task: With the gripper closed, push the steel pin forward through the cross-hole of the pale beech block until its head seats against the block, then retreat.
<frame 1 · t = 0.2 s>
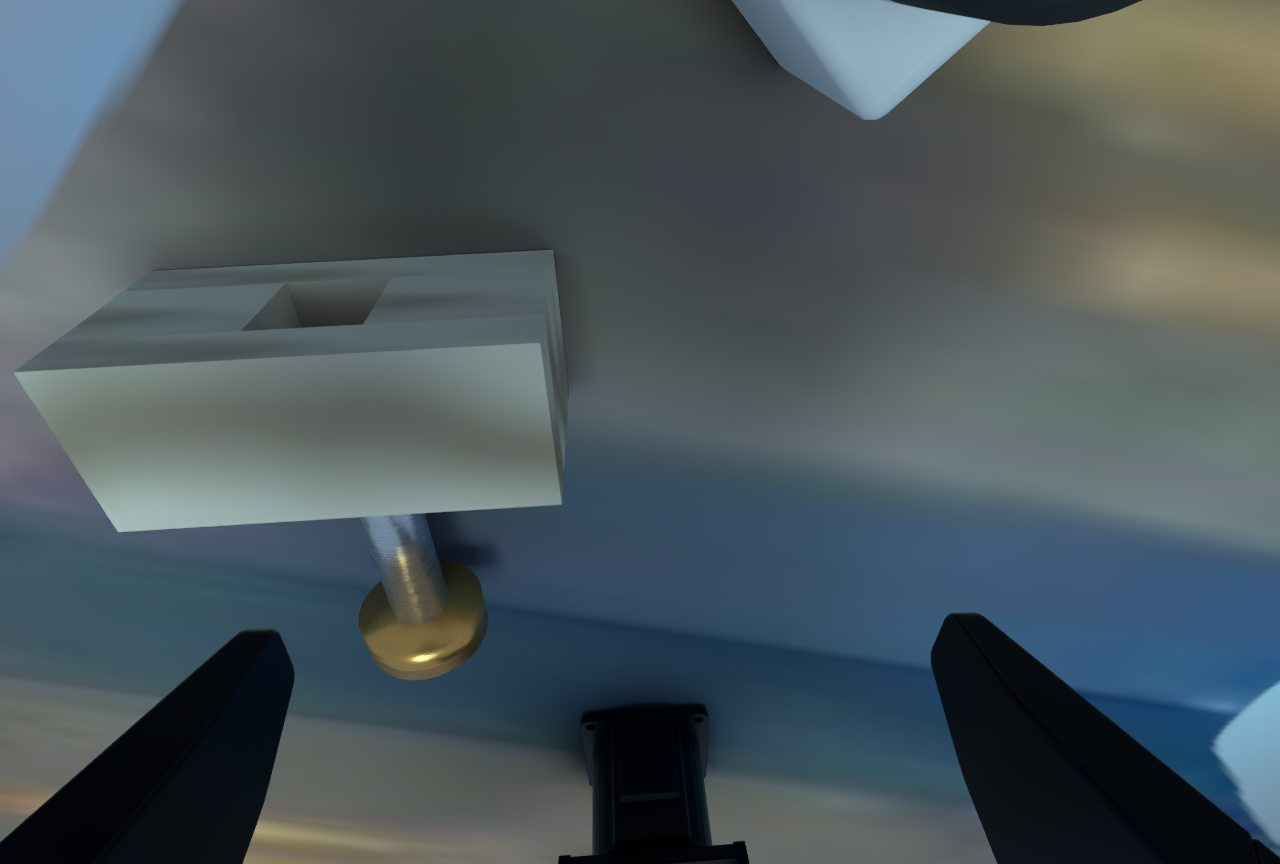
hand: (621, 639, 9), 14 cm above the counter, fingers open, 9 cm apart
pin: (393, 517, 23), point 3 cm above the counter, slide at 0.0 cm
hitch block: (375, 334, 22), on the counter
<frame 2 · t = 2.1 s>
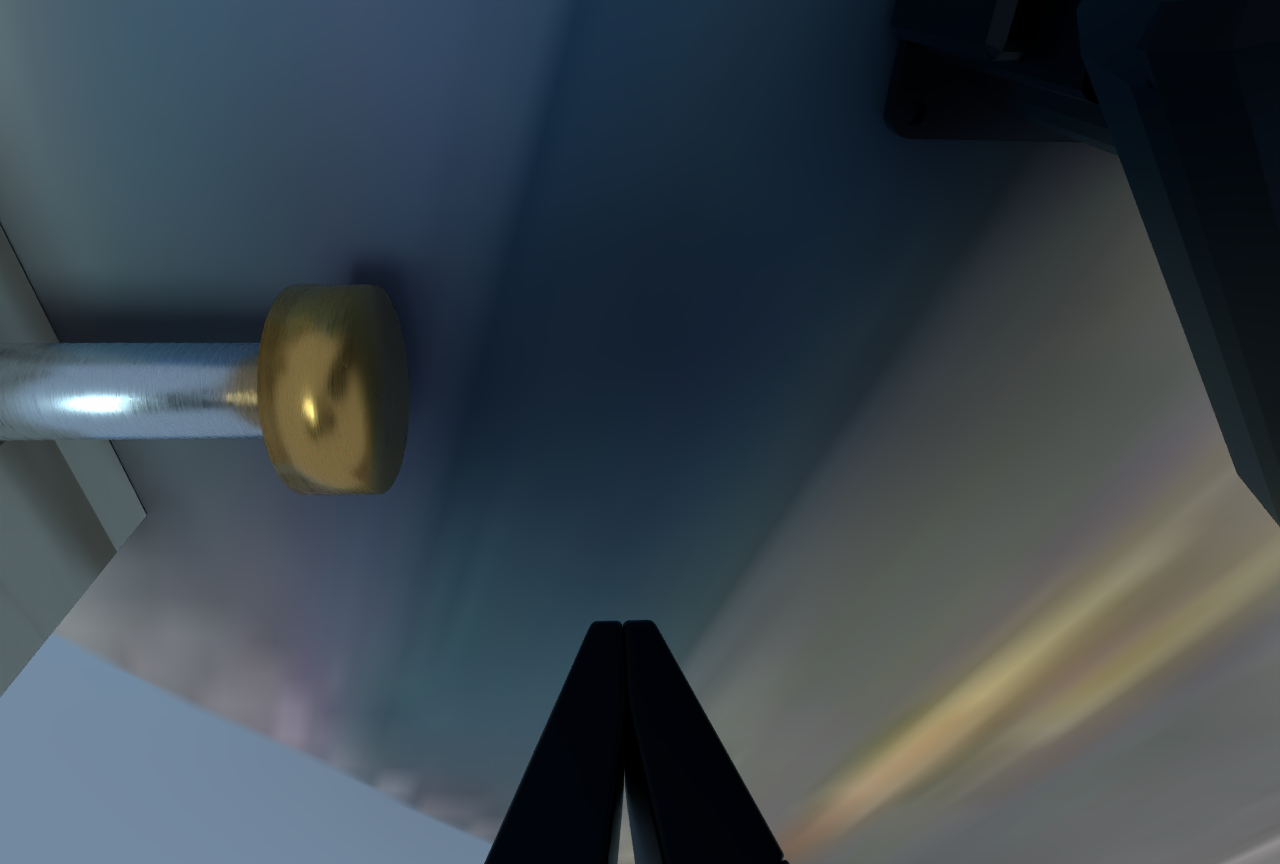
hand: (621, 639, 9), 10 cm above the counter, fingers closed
pin: (97, 391, 14), point 3 cm above the counter, slide at 0.0 cm
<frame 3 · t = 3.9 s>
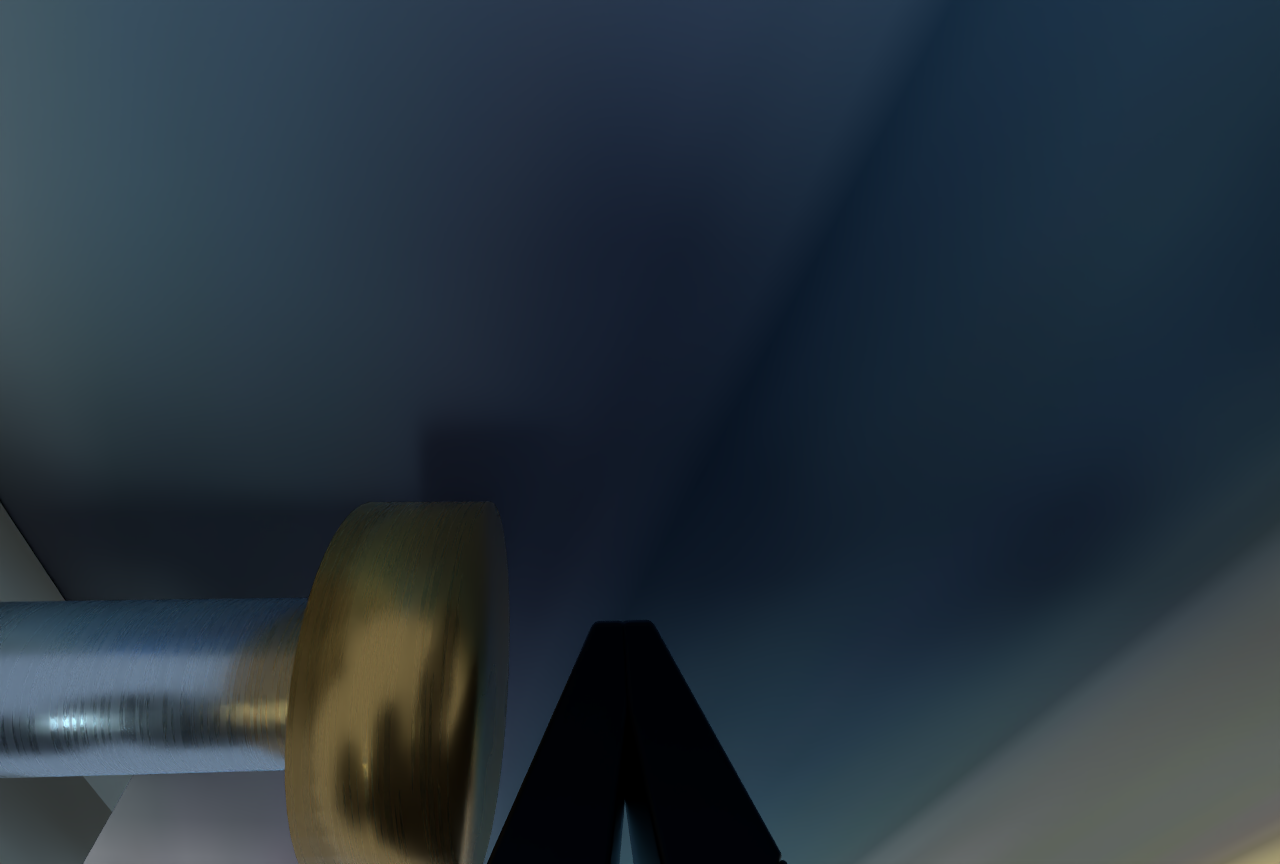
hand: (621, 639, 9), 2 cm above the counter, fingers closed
pin: (6, 686, 8), point 3 cm above the counter, slide at 0.8 cm, touching gripper
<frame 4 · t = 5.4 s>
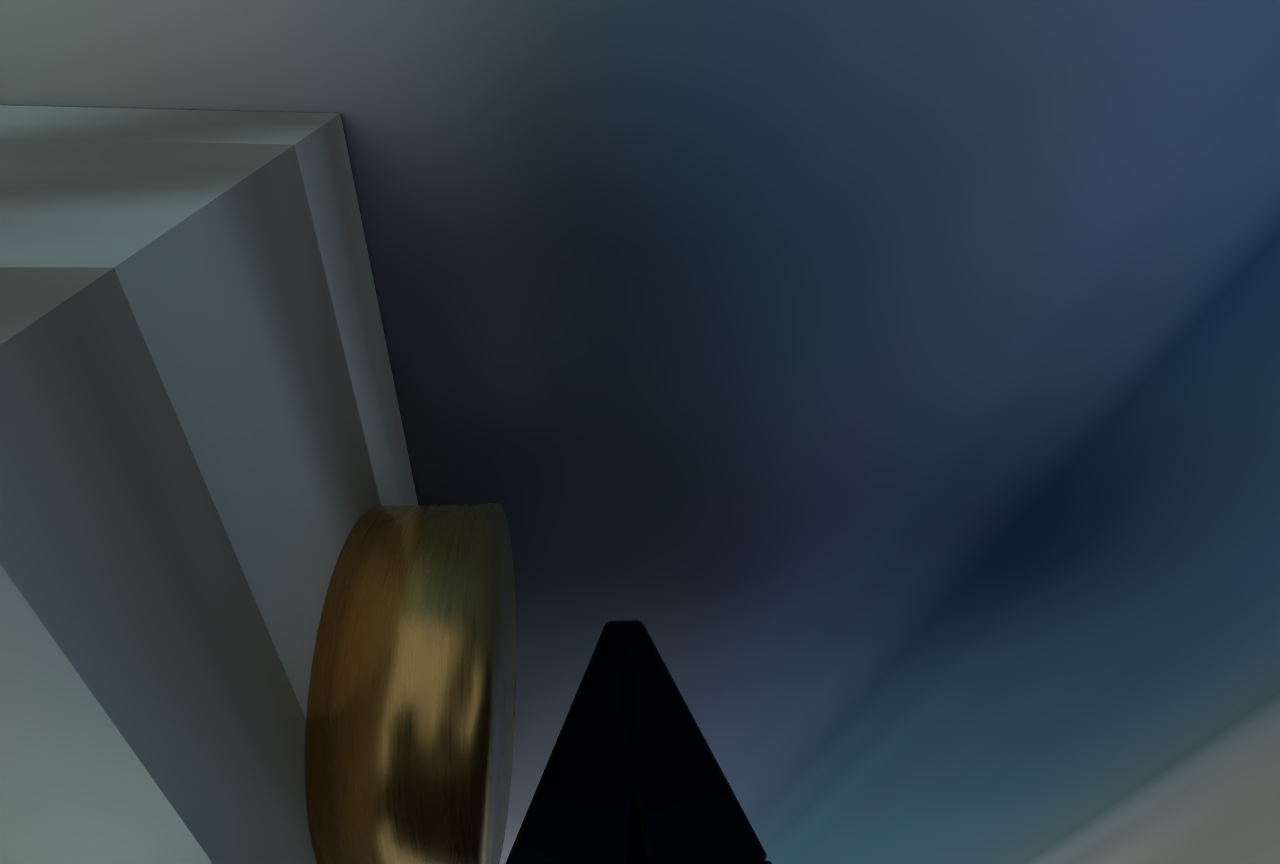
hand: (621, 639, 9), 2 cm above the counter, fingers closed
pin: (9, 700, 8), point 3 cm above the counter, slide at 7.0 cm, touching gripper, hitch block
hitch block: (258, 524, 11), on the counter
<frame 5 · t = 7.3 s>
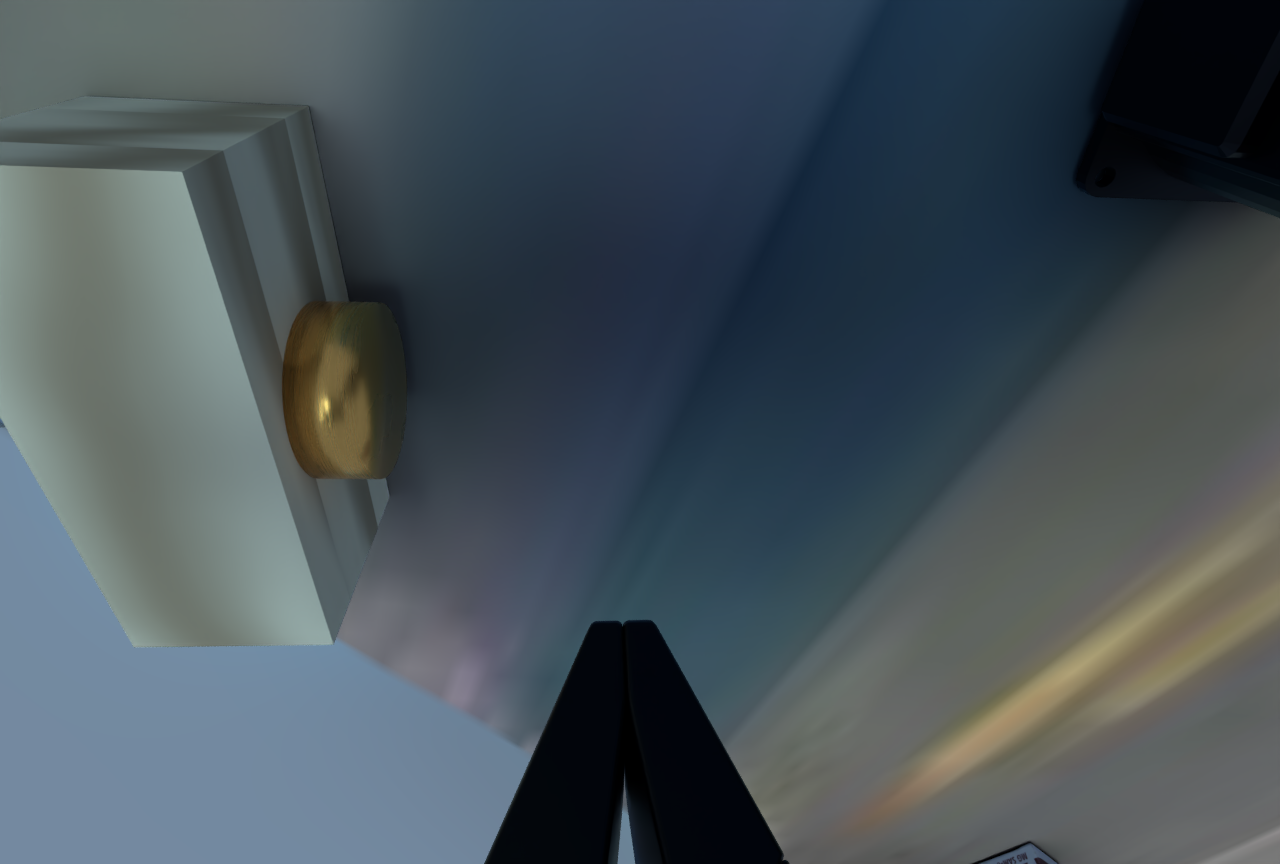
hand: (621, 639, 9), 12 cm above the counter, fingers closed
pin: (142, 388, 17), point 3 cm above the counter, slide at 7.0 cm, touching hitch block
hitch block: (265, 333, 19), on the counter
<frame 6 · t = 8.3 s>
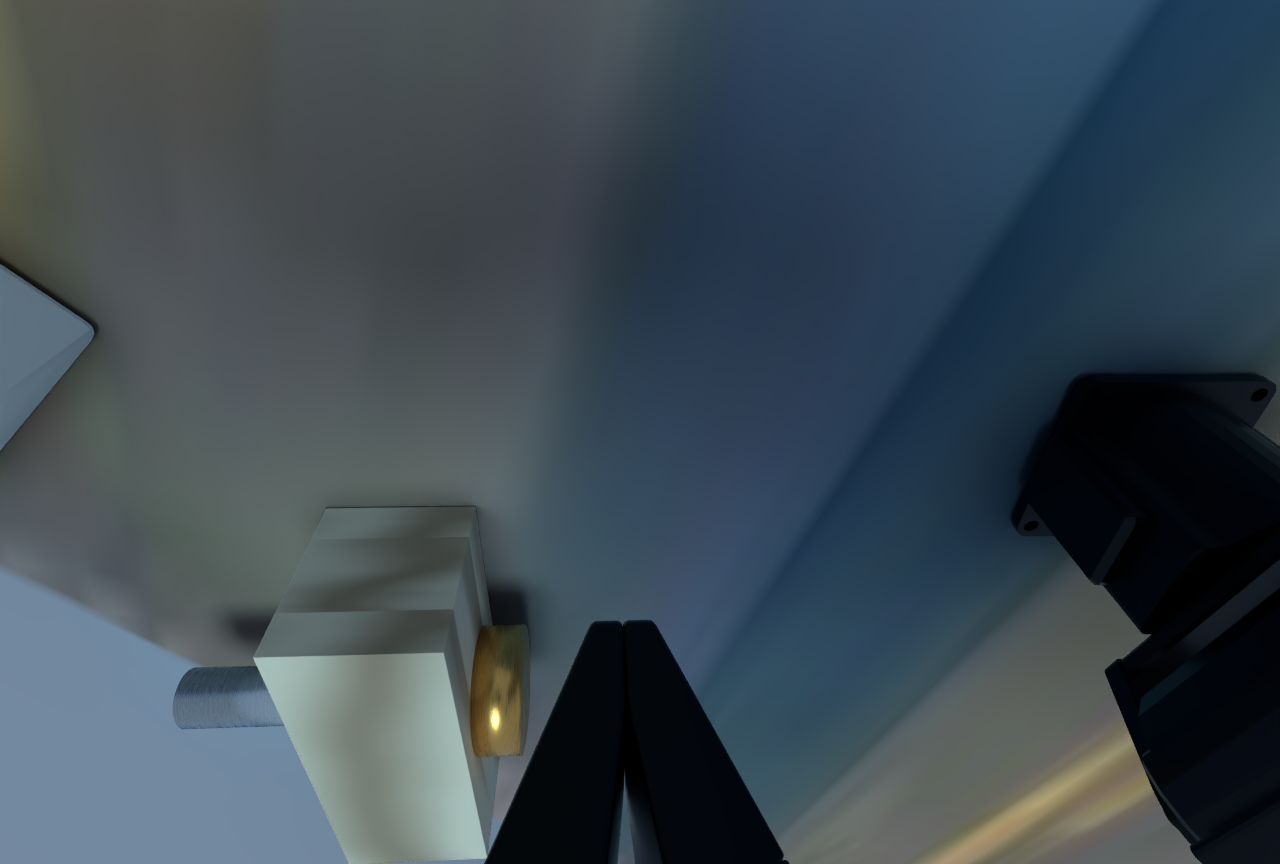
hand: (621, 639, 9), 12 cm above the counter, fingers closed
pin: (359, 692, 24), point 3 cm above the counter, slide at 7.0 cm, touching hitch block
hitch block: (427, 623, 27), on the counter
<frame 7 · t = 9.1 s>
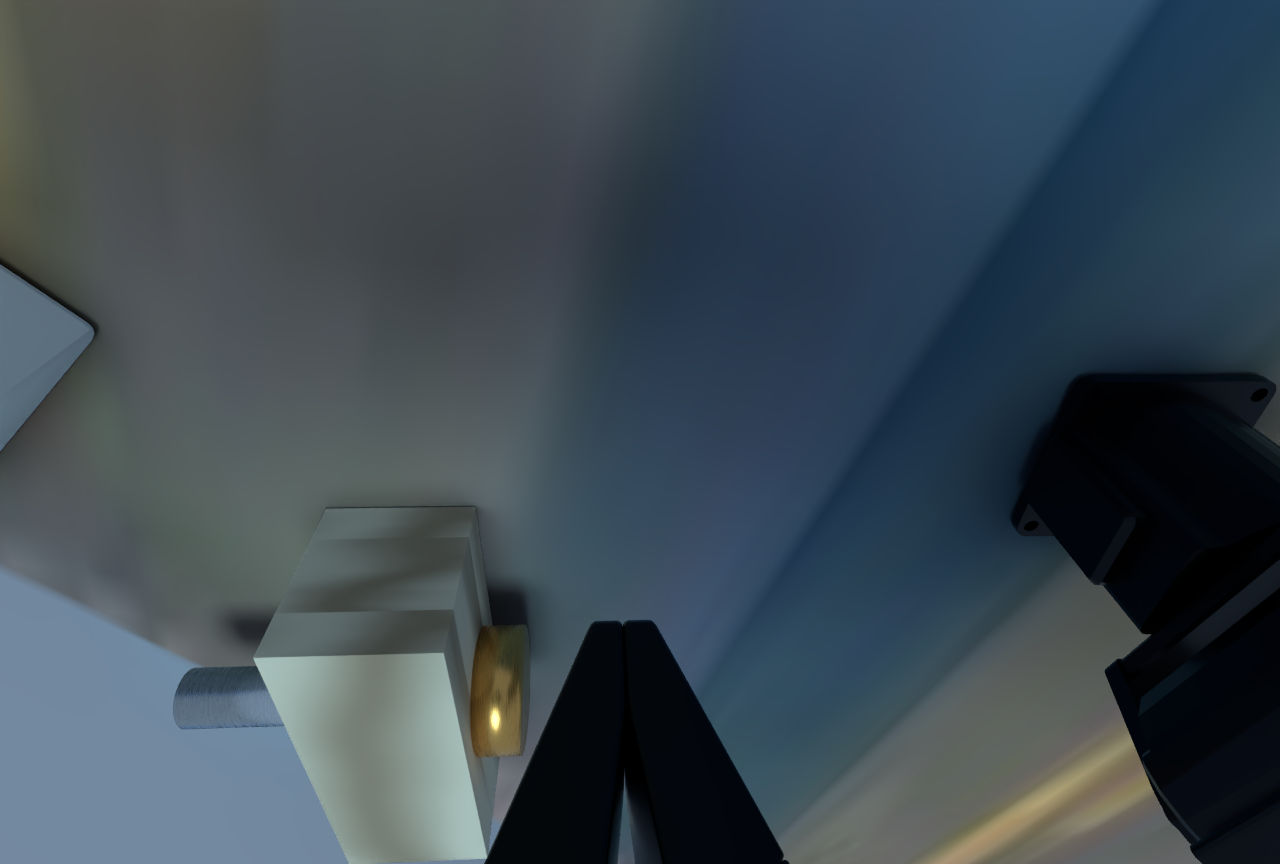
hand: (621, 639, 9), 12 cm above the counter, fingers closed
pin: (359, 693, 24), point 3 cm above the counter, slide at 7.0 cm, touching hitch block
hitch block: (427, 623, 27), on the counter
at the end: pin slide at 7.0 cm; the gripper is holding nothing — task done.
